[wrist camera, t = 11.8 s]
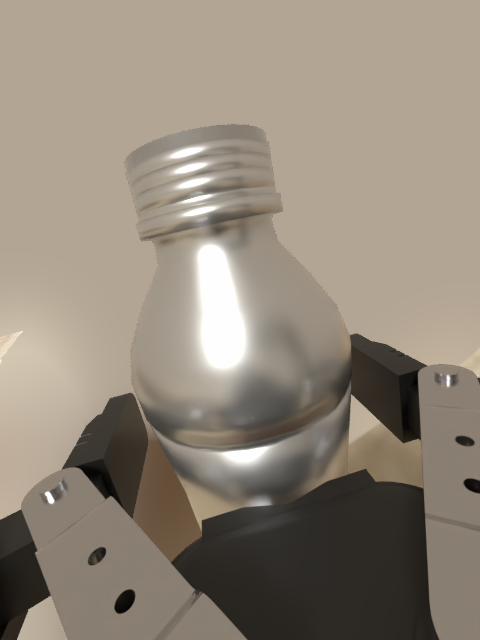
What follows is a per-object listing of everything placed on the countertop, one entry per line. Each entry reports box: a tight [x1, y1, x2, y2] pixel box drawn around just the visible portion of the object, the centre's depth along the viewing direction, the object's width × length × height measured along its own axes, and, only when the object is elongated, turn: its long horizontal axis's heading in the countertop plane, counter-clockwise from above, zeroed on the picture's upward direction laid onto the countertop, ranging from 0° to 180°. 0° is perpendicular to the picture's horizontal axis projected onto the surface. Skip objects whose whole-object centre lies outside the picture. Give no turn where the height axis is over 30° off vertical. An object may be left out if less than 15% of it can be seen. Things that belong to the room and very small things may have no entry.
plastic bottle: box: [124, 124, 352, 532], centre depth 10 cm, size 6×7×20 cm
